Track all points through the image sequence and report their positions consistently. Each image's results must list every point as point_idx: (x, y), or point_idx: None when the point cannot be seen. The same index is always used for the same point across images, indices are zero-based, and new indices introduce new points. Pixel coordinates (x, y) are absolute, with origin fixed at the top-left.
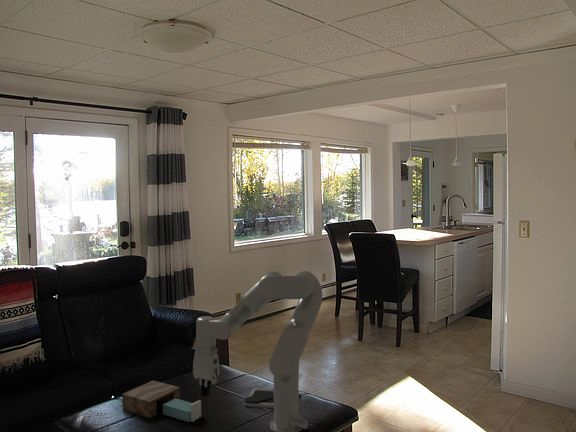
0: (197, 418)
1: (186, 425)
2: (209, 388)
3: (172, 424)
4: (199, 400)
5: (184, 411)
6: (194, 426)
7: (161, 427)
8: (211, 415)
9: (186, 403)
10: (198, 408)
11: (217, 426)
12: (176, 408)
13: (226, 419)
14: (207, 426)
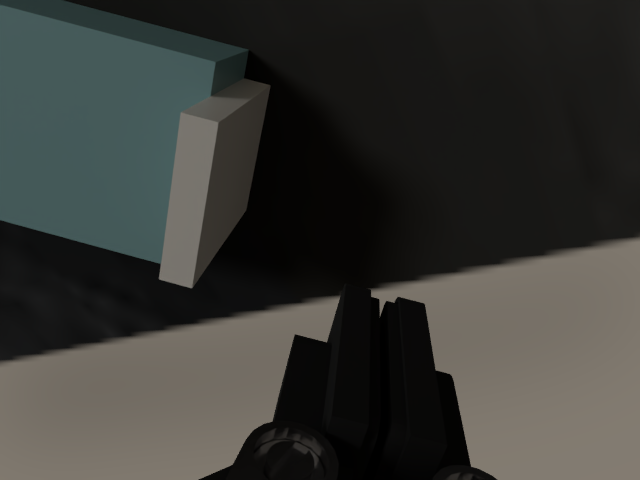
0: (257, 144)
1: (232, 283)
2: (462, 449)
3: (109, 291)
4: (194, 122)
5: (124, 249)
6: (310, 285)
7: (65, 350)
8: (366, 18)
9: (6, 57)
10: (235, 153)
11: (529, 240)
12: (1, 219)
13: (583, 68)
14: (429, 261)
